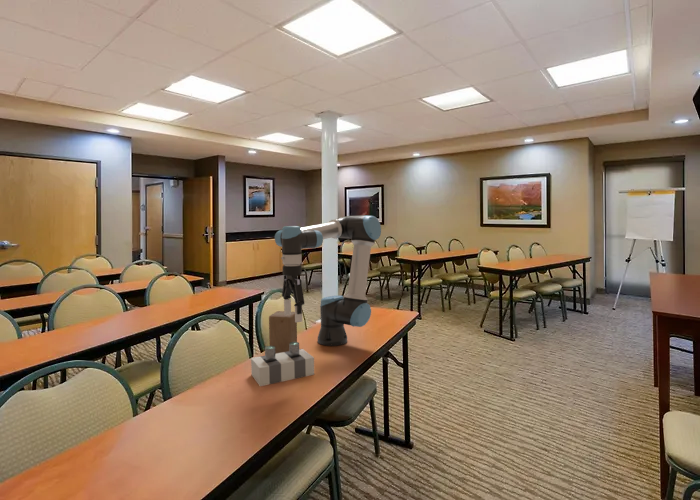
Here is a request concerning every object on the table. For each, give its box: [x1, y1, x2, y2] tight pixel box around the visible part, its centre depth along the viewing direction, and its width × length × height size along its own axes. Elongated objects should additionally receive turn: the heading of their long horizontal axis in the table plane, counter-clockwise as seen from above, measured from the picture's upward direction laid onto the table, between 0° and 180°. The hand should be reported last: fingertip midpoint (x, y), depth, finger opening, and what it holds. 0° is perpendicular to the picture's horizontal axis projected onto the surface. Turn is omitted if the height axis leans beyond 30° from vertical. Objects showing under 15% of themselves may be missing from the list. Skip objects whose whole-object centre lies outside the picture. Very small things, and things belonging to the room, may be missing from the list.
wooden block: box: [268, 310, 298, 354], centre depth 173 cm, size 10×10×20 cm
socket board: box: [250, 348, 315, 387], centre depth 153 cm, size 22×12×7 cm, turn 119°
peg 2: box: [289, 341, 300, 358], centre depth 155 cm, size 4×4×7 cm
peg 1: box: [264, 345, 276, 363], centre depth 151 cm, size 4×4×7 cm
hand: (293, 318), depth 154 cm, fingers open, 12 cm apart
